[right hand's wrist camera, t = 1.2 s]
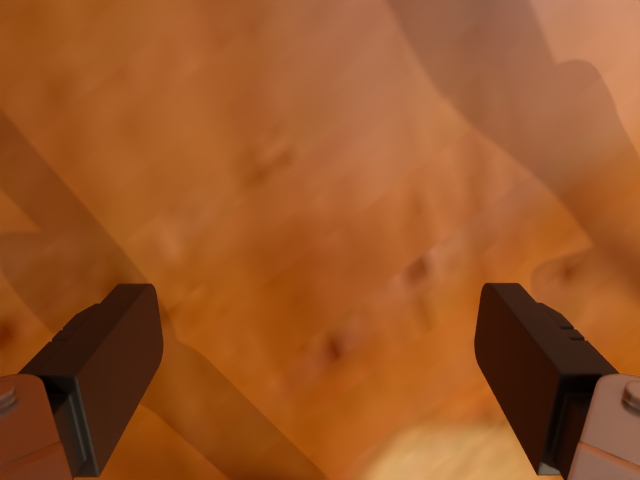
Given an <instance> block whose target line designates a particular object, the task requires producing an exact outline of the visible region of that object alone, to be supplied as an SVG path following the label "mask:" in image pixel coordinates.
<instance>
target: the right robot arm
mask: <svg viewBox="0 0 640 480" xmlns="http://www.w3.org/2000/svg"><path fill="white" fill-rule="evenodd" d="M474 347H475V355H476V360H477V363H478V365H479V367H480V369H481V371H482V373H483V374H484V376H485V378H486V380H487V382H488V384H489V386H490V388H491V389H492V391H493V393H494V395H495V397H496V399H497V401H498V403H499V404H500V406H501V408H502V410H503V412H504V414H505V416H506V418H507V420H508V421H509V423H510V425H511V427H512V429H513V431H514V433H515V435H516V436H517V438H518V440H519V442H520V444H521V446H522V448H523V450H524V451H525V453H526V455H527V457H528V459H529V461H530V463H531V465H532V466H533V468H534V470H535V472H536V474H537V475H562V477H563V479H564V480H640V377H638V376H633V375H627V374H619V373H618V372H617V370H616V369H615V368H614V367H613V366H612V365H611V364H610V363H609V362H608V361H607V360H606V359H605V358H604V357H603V356H602V355H601V354H600V353H599V352H598V351H597V350H596V349H595V348H594V347H593V346H592V345H591V344H590V343H589V342H588V341H585V340H584V337H583V336H582V335H581V334H580V333H579V332H578V331H577V330H574V327H573V326H572V325H571V324H570V323H569V321H568V320H567V319H566V318H565V317H564V316H563V315H562V314H560V313H559V312H557V311H555V310H553V309H551V308H550V307H548V306H546V305H544V304H543V303H537V302H536V301H535V300H534V299H533V298H532V297H531V296H530V295H529V294H528V293H527V292H526V290H525V289H524V288H523V287H522V286H521V285H520V284H518V283H486V284H484V286H483V288H482V291H481V297H480V304H479V311H478V318H477V325H476V333H475V341H474ZM162 354H163V336H162V329H161V322H160V315H159V308H158V301H157V294H156V290H155V288H154V286H153V285H152V284H118V285H117V286H116V287H115V288H114V289H113V290H112V291H111V292H110V294H109V295H108V296H107V297H106V298H105V299H104V300H103V301H102V302H101V303H100V304H94V305H92V306H91V307H89V308H87V309H85V310H83V311H82V312H80V313H78V314H76V315H75V316H74V317H73V318H72V319H71V320H70V321H69V322H68V323H67V324H66V325H65V326H64V327H63V330H60V331H59V332H58V333H57V334H56V335H55V336H54V337H53V338H52V342H48V343H47V345H46V346H45V347H44V348H43V349H42V350H41V351H40V352H39V353H38V354H37V355H36V356H35V357H34V358H33V359H32V360H31V361H30V362H29V363H28V364H27V365H26V366H25V367H24V368H23V369H22V370H21V371H20V372H19V373H18V374H13V375H7V376H2V377H0V480H73V479H74V477H99V476H100V475H101V473H102V471H103V469H104V467H105V465H106V463H107V462H108V460H109V458H110V456H111V454H112V452H113V450H114V449H115V447H116V445H117V443H118V441H119V439H120V437H121V436H122V434H123V432H124V430H125V428H126V426H127V424H128V423H129V421H130V419H131V417H132V415H133V413H134V412H135V410H136V408H137V406H138V404H139V402H140V400H141V399H142V397H143V395H144V393H145V391H146V389H147V387H148V386H149V384H150V382H151V380H152V378H153V376H154V374H155V373H156V371H157V369H158V367H159V365H160V362H161V359H162Z"/></svg>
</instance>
